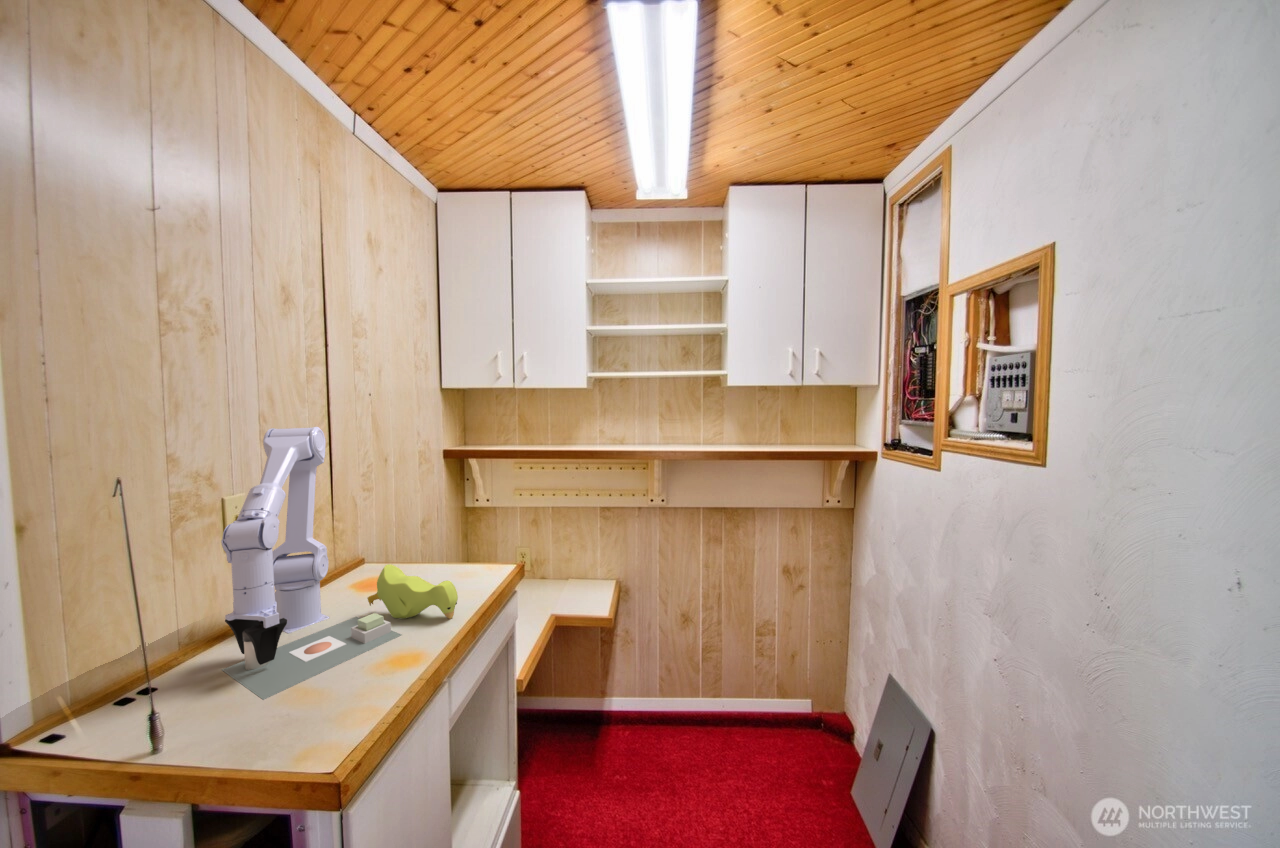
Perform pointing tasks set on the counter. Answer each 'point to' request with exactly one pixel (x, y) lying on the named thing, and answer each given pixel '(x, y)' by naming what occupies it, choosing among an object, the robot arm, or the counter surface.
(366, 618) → the button
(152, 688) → the counter surface
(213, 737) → the counter surface
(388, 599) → the toy
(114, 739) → the counter surface
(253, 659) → the jar with dark lid
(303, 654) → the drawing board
